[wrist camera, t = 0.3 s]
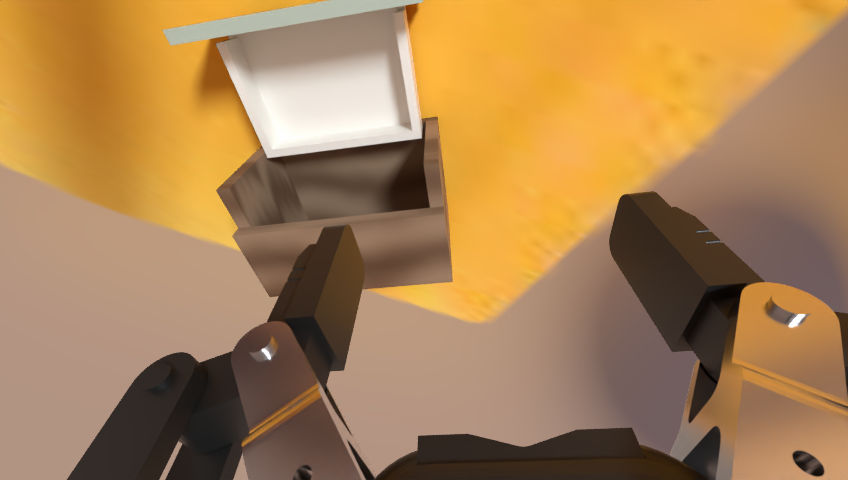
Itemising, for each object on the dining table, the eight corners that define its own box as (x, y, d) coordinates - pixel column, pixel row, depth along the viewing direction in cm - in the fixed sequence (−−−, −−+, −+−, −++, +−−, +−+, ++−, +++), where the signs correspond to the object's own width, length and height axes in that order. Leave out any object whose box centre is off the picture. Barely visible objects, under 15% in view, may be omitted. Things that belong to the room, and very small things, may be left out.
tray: (209, 21, 30) (162, 30, 25) (423, -17, 28) (420, -16, 23) (265, 146, 37) (238, 173, 32) (438, 123, 35) (439, 148, 30)
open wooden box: (268, 139, 37) (208, 197, 27) (437, 116, 35) (438, 170, 25) (306, 226, 45) (269, 296, 35) (448, 211, 43) (452, 281, 33)
